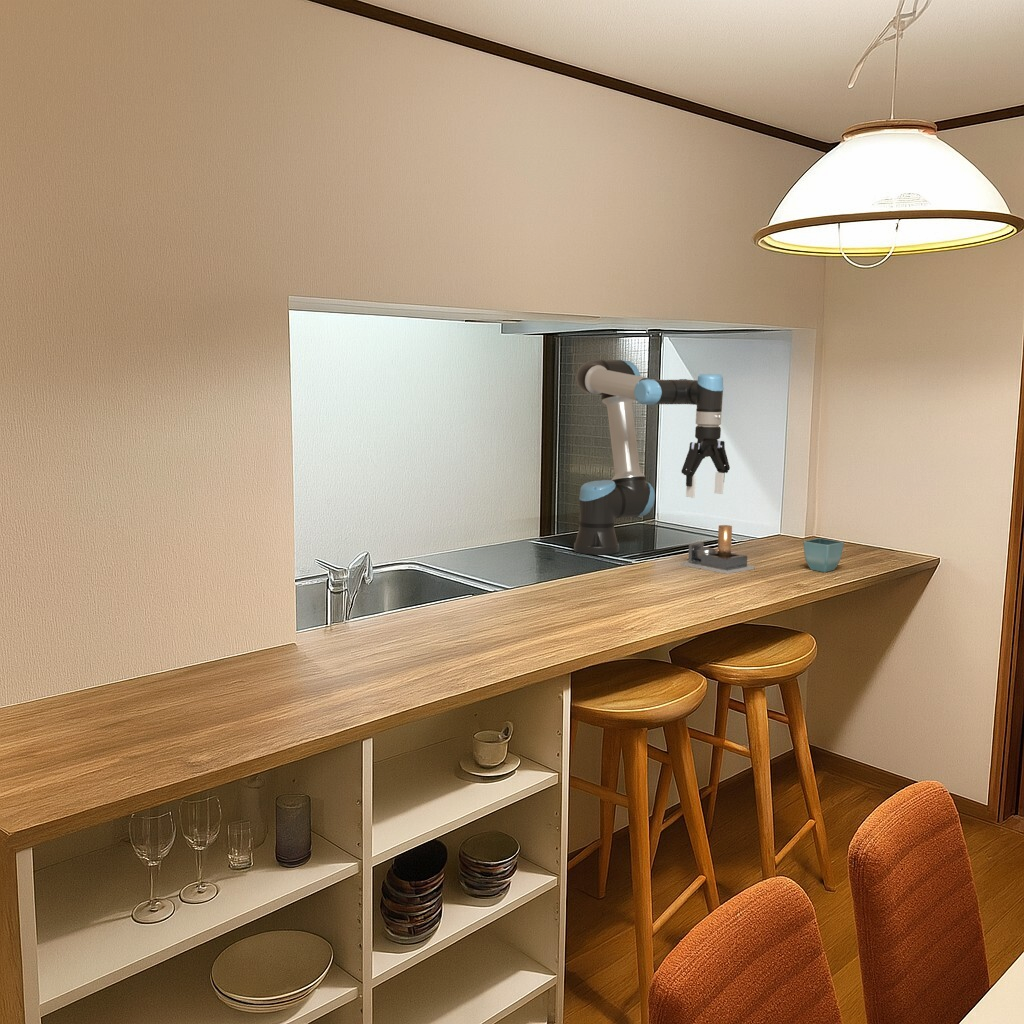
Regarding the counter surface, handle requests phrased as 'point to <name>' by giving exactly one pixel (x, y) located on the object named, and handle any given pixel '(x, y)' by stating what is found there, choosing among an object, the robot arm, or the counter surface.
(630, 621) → the counter surface
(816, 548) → the flower pot
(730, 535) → the pipe stub
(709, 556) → the dark grey holder base
